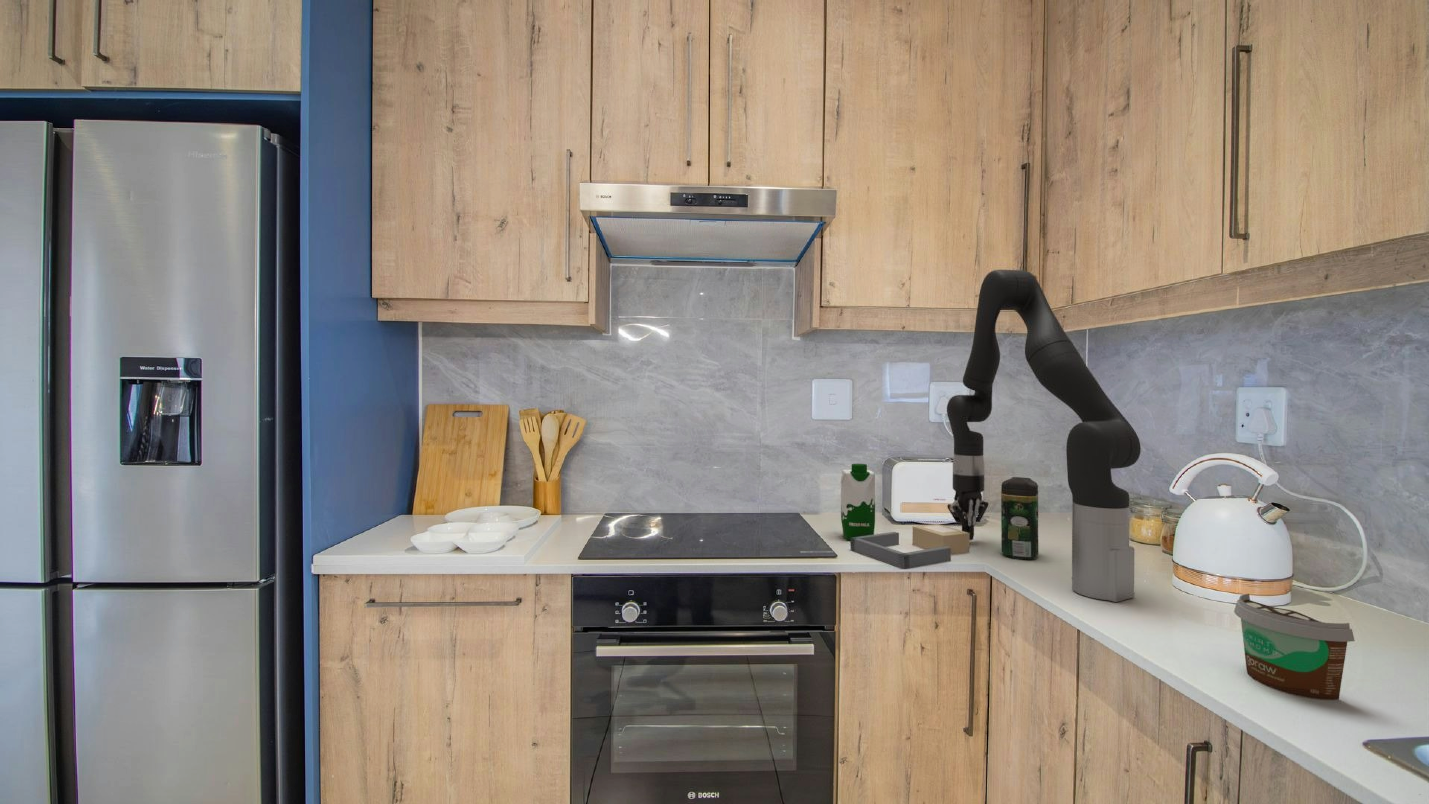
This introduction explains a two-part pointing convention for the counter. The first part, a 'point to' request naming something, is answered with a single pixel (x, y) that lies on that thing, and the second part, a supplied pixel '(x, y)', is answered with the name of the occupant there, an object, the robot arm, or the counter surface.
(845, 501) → the milk carton
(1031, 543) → the coffee jar
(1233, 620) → the counter surface
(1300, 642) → the food container
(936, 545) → the carton
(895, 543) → the grey u-shaped bracket
